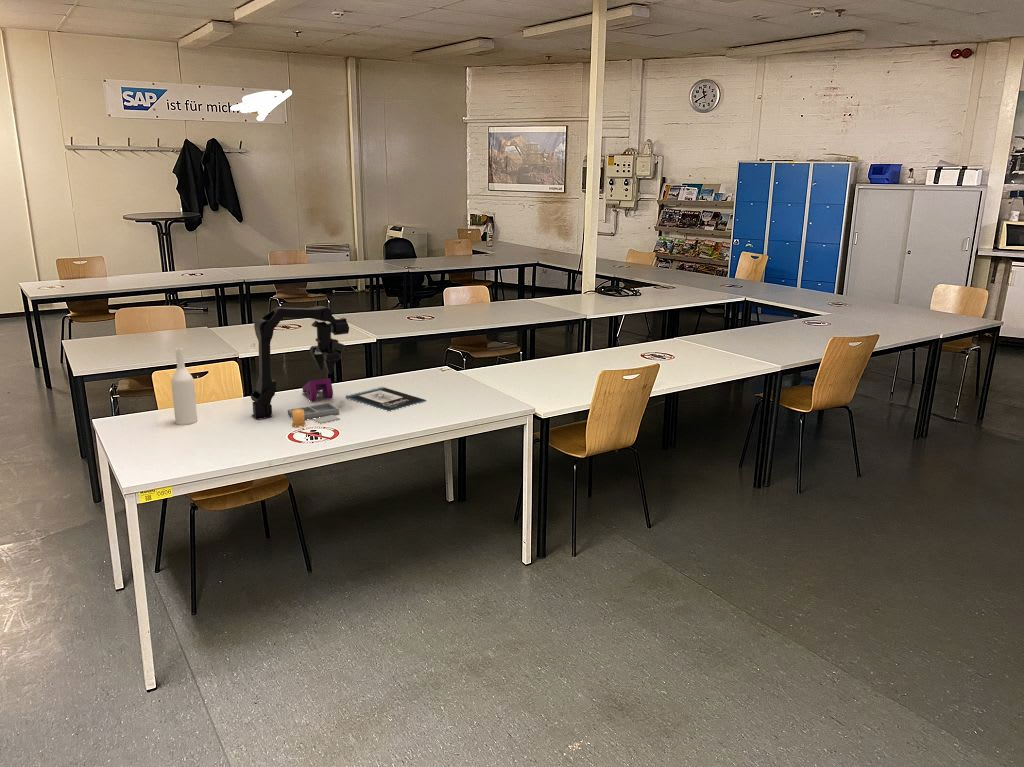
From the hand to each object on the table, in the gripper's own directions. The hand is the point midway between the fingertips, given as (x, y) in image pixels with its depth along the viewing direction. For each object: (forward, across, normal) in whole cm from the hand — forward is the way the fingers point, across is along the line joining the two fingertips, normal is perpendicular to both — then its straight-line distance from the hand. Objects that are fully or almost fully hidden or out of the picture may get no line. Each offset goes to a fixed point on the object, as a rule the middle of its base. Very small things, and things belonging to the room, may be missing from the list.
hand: (325, 372), depth 324 cm
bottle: (+15, +10, +55) cm, 58 cm away
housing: (+15, -10, +10) cm, 20 cm away
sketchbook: (+15, -6, -25) cm, 30 cm away
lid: (+15, -19, +9) cm, 26 cm away
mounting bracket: (+15, +16, -2) cm, 22 cm away
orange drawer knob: (+15, -19, +20) cm, 31 cm away
